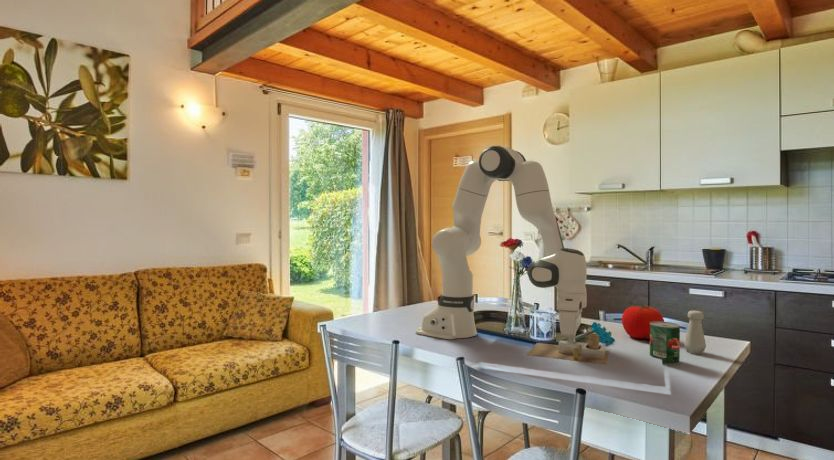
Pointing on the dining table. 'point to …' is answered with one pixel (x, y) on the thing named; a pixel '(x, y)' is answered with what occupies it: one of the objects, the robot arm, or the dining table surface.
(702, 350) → the salt shaker
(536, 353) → the post board
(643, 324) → the tomato
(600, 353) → the tan pipe fitting
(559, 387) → the dining table surface
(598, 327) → the gear
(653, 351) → the canned tomato
